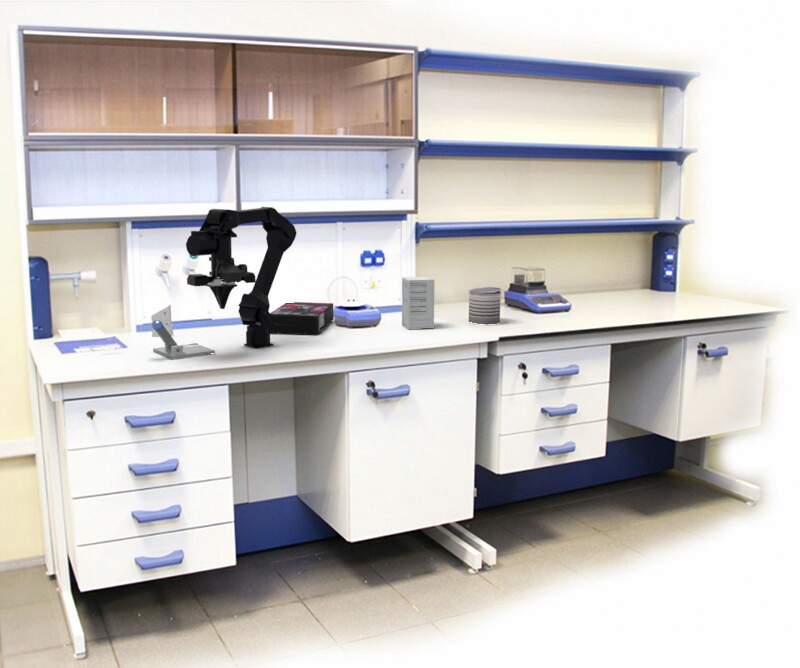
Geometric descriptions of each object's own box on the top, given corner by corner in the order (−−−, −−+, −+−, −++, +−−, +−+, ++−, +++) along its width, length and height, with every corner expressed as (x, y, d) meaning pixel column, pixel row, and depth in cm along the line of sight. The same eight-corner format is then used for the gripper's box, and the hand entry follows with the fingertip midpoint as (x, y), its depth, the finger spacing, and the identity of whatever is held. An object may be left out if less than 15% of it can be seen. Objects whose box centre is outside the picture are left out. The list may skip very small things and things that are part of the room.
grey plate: (184, 329, 268) (169, 305, 266) (157, 344, 268) (142, 321, 267) (186, 327, 271) (172, 303, 270) (160, 342, 272) (145, 319, 270)
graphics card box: (265, 314, 273) (287, 299, 299) (266, 335, 274) (287, 318, 301) (317, 316, 271) (334, 301, 297) (317, 337, 272) (334, 320, 298)
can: (503, 325, 294) (505, 290, 292) (471, 325, 293) (472, 291, 291) (496, 319, 306) (497, 286, 303) (465, 319, 304) (465, 286, 302)
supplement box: (434, 329, 285) (435, 279, 282) (407, 330, 283) (408, 280, 280) (426, 324, 294) (427, 276, 291) (401, 325, 292) (401, 276, 289)
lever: (176, 345, 241) (156, 317, 236) (181, 347, 238) (161, 318, 233) (168, 352, 240) (148, 324, 234) (173, 353, 237) (152, 325, 232)
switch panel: (195, 346, 254) (194, 334, 253) (214, 353, 244) (214, 341, 243) (153, 351, 246) (152, 339, 245) (172, 359, 236) (171, 347, 235)
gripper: (202, 257, 227) (204, 315, 230) (264, 254, 238) (265, 309, 241) (185, 254, 235) (187, 310, 238) (245, 251, 247) (246, 305, 250)
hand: (222, 308), depth 241 cm, fingers closed
